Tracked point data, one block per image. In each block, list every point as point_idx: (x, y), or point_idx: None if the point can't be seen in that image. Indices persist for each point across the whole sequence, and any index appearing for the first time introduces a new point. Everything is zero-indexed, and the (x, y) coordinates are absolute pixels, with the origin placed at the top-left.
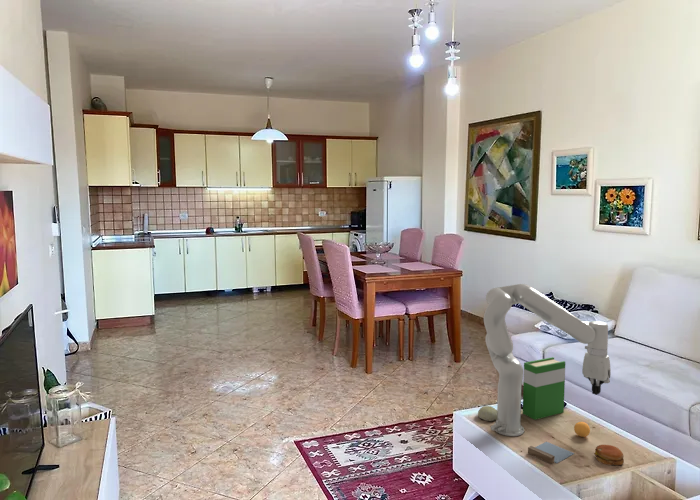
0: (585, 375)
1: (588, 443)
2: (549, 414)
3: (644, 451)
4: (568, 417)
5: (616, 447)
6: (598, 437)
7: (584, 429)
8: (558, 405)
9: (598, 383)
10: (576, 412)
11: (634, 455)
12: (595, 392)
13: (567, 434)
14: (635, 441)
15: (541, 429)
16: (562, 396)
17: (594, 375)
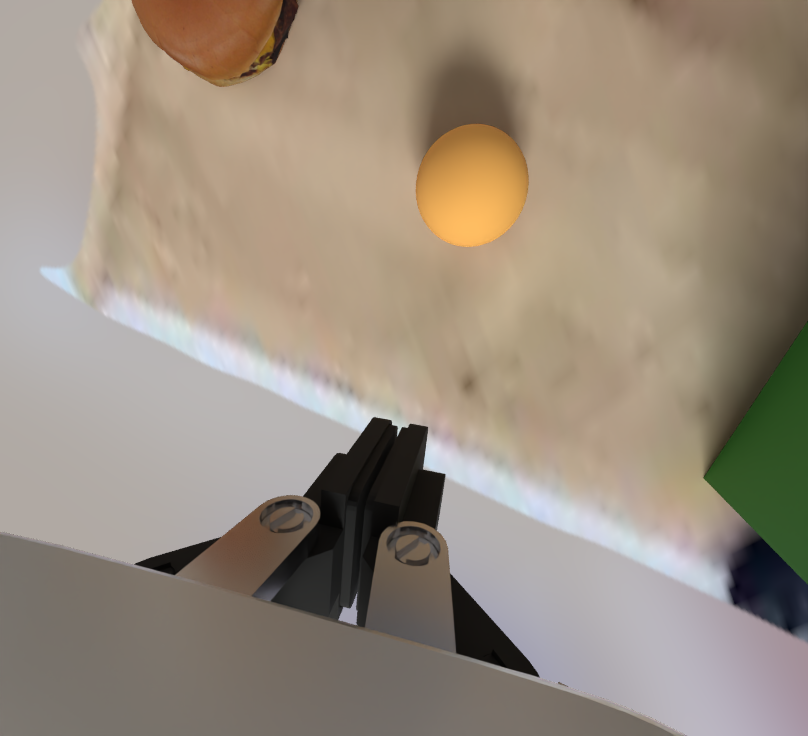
0: (631, 726)
1: (402, 126)
2: (793, 358)
3: (180, 276)
4: (647, 421)
5: (171, 32)
6: (393, 264)
7: (435, 143)
8: (776, 465)
9: (248, 533)
10: (626, 523)
11: (184, 189)
12: (373, 430)
13: (559, 145)
14: (251, 359)
15: (771, 56)
16: (805, 549)
17: (81, 731)
